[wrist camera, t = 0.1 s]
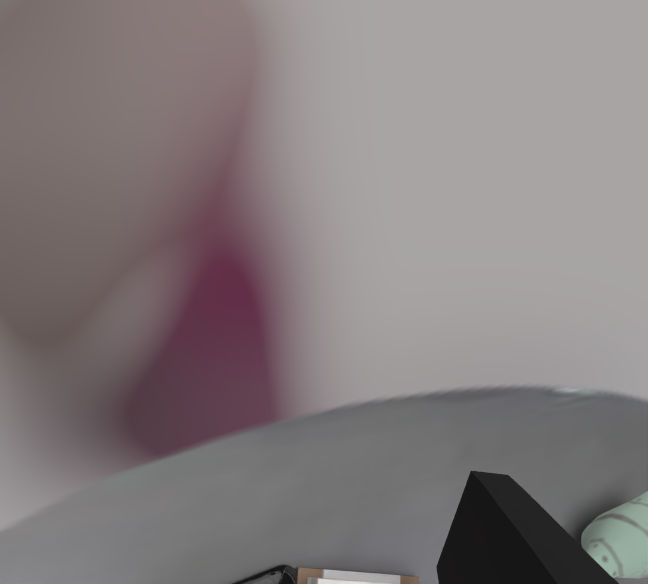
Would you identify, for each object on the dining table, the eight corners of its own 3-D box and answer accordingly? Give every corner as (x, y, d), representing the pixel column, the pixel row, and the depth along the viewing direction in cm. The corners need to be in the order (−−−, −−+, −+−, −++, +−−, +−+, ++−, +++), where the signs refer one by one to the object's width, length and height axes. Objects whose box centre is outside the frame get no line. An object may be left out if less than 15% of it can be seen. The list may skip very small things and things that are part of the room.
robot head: (605, 487, 43) (668, 474, 37) (644, 534, 42) (716, 529, 36) (537, 555, 40) (594, 553, 34) (577, 608, 39) (643, 615, 33)
